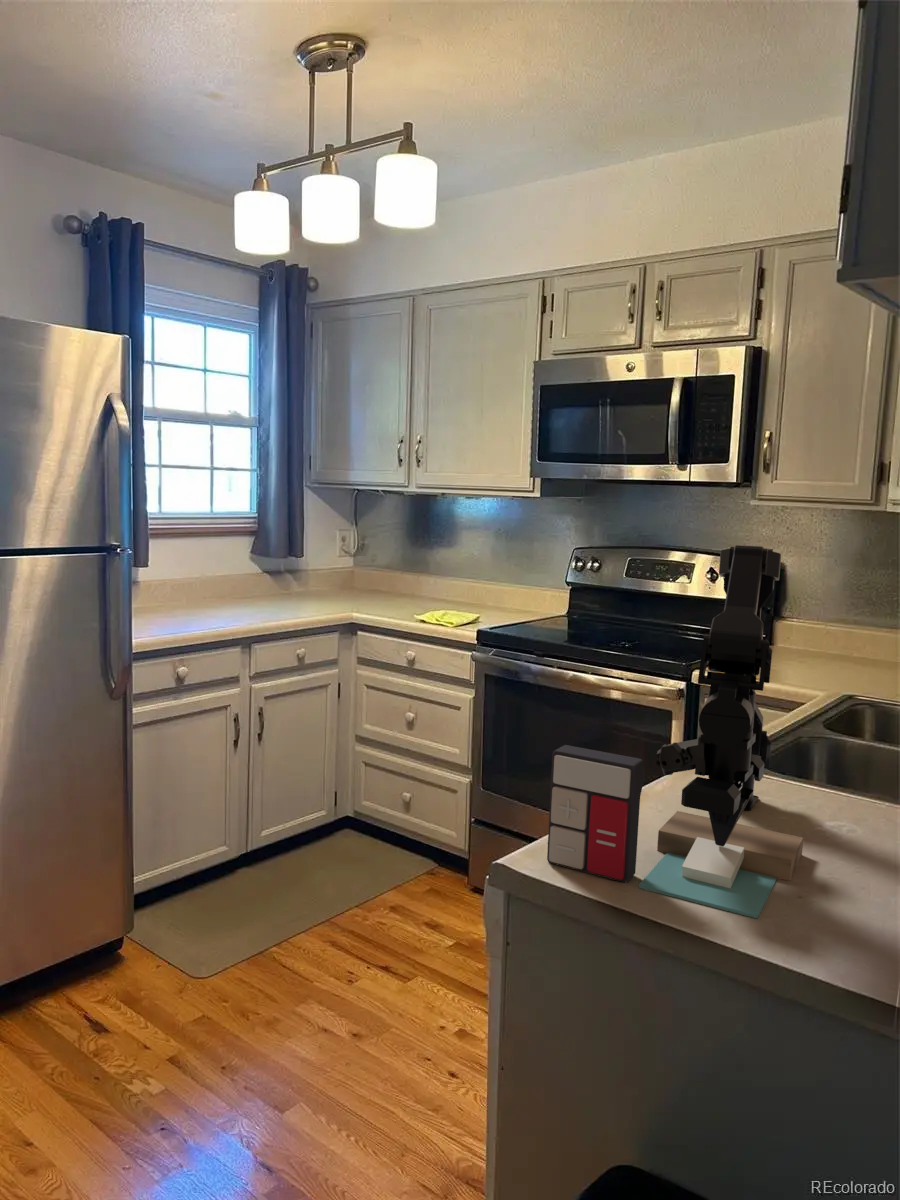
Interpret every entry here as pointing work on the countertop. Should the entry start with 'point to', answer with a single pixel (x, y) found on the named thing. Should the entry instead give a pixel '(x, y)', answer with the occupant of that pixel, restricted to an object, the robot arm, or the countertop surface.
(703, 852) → the tile
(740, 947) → the countertop surface
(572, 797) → the calculator
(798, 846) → the wooden board
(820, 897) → the countertop surface
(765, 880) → the mat
